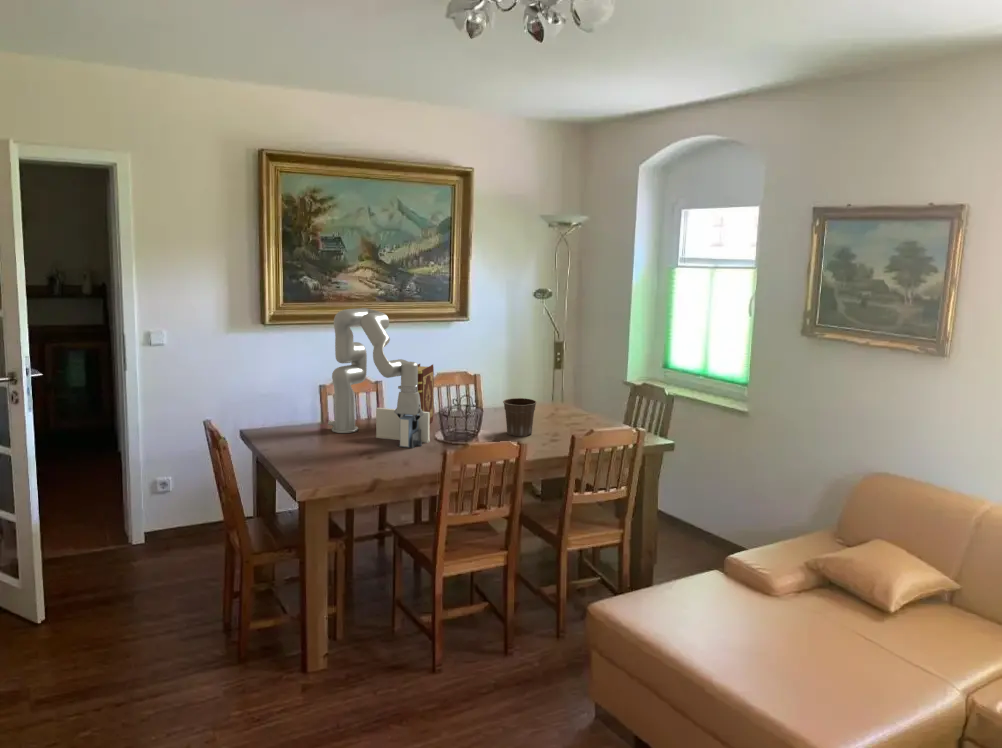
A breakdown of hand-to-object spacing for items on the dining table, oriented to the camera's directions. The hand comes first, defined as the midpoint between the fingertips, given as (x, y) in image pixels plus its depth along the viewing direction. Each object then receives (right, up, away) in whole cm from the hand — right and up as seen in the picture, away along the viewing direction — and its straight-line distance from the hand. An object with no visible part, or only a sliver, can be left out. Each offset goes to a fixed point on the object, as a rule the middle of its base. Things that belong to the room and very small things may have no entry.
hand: (409, 428), depth 350 cm
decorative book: (+1, -2, +37) cm, 37 cm away
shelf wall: (-4, -6, +10) cm, 12 cm away
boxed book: (0, -7, +1) cm, 7 cm away
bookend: (+1, -8, +1) cm, 8 cm away
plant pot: (+51, -5, +26) cm, 57 cm away
